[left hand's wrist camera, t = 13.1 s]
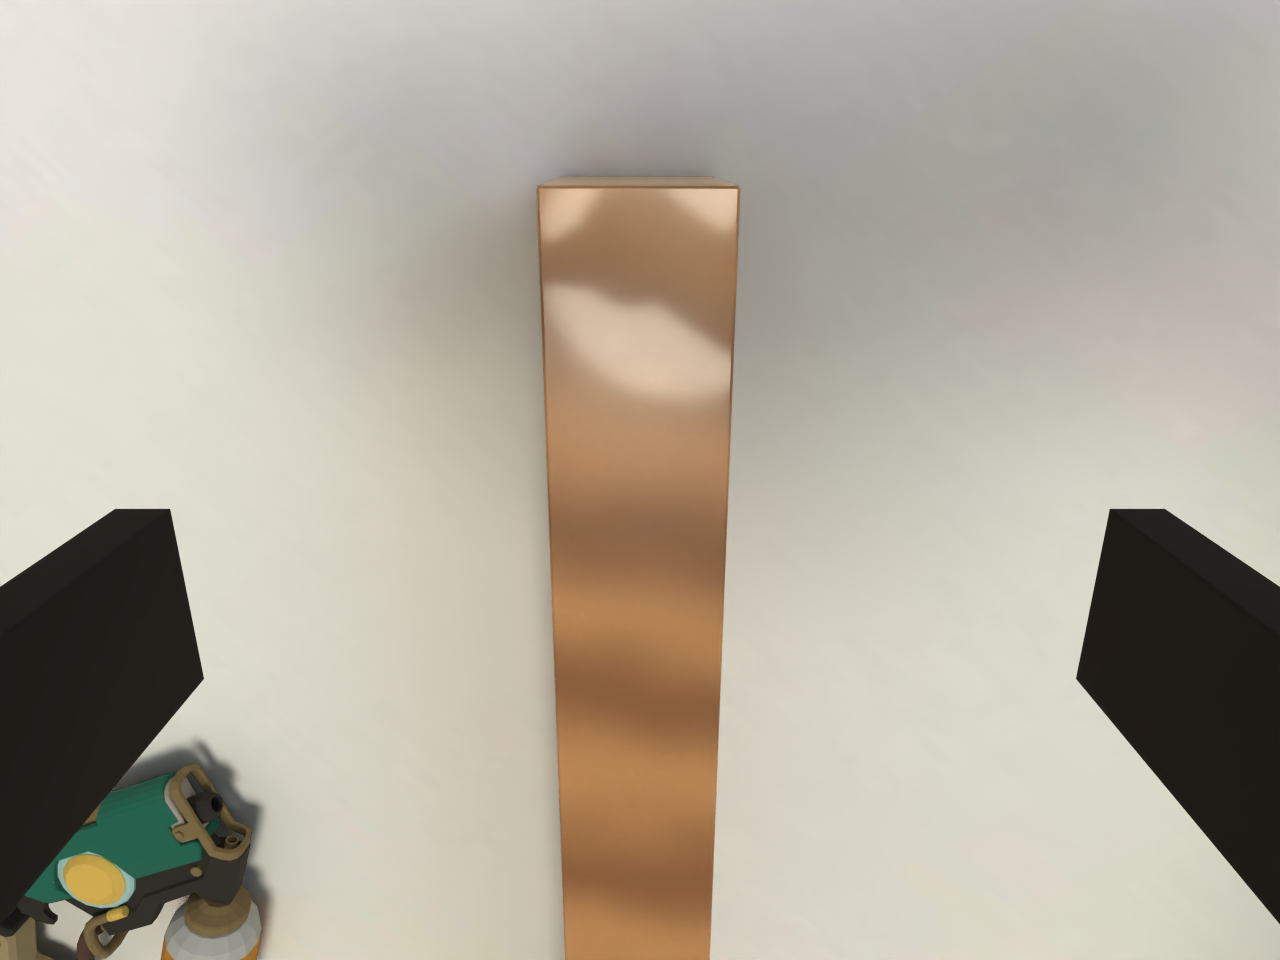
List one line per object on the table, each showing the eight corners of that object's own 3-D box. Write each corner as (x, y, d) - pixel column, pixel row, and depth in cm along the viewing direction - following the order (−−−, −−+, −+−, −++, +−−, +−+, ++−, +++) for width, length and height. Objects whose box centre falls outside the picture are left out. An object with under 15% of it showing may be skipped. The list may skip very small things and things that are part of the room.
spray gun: (12, 994, 47) (-87, 753, 42) (316, 989, 45) (249, 739, 40) (-53, 1071, 43) (-171, 815, 38) (279, 1068, 41) (200, 801, 36)
